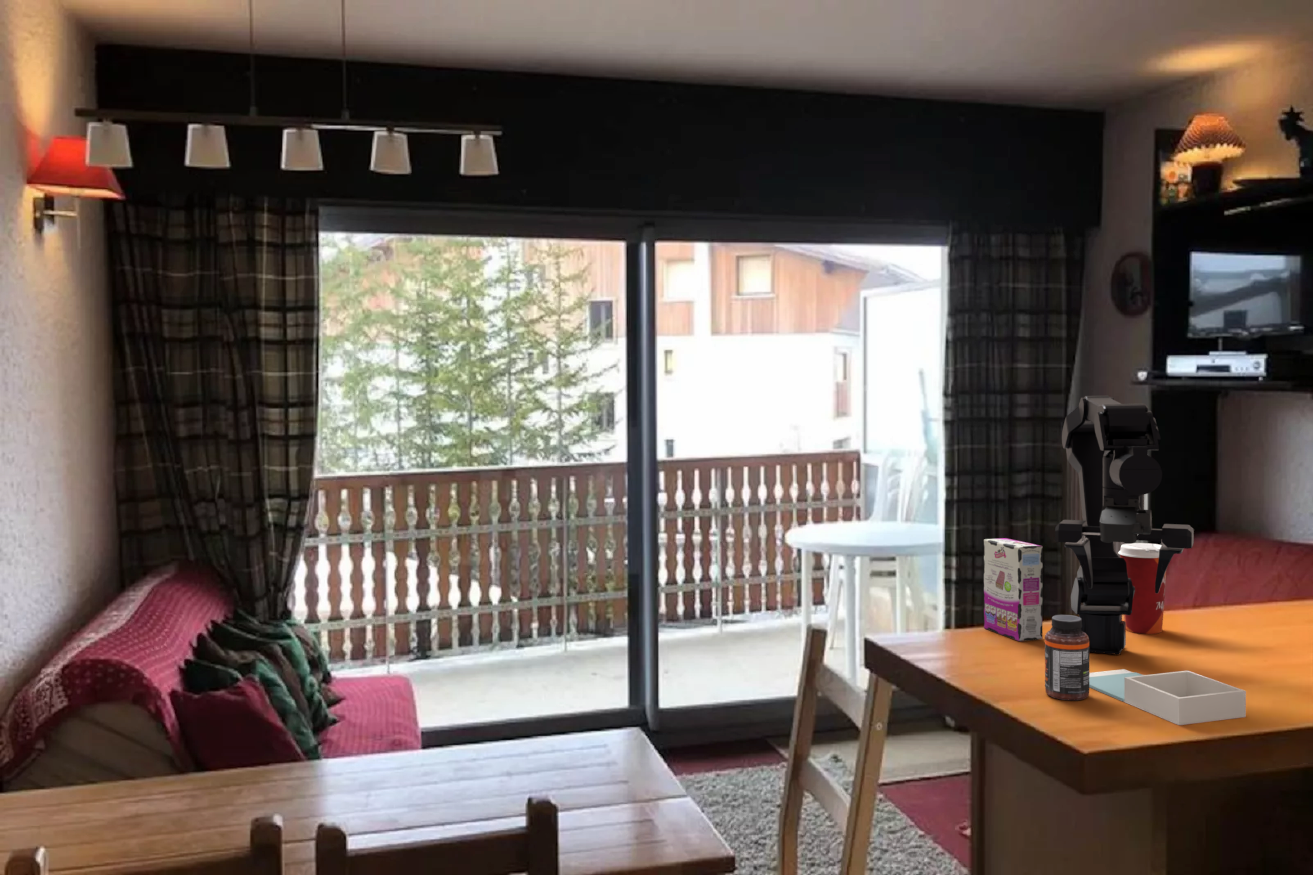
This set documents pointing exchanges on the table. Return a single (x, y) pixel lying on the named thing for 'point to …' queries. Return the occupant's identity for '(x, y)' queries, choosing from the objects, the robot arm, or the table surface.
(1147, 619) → the coffee cup
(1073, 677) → the supplement bottle
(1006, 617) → the candy bar box
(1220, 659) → the table surface
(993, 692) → the table surface
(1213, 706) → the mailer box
